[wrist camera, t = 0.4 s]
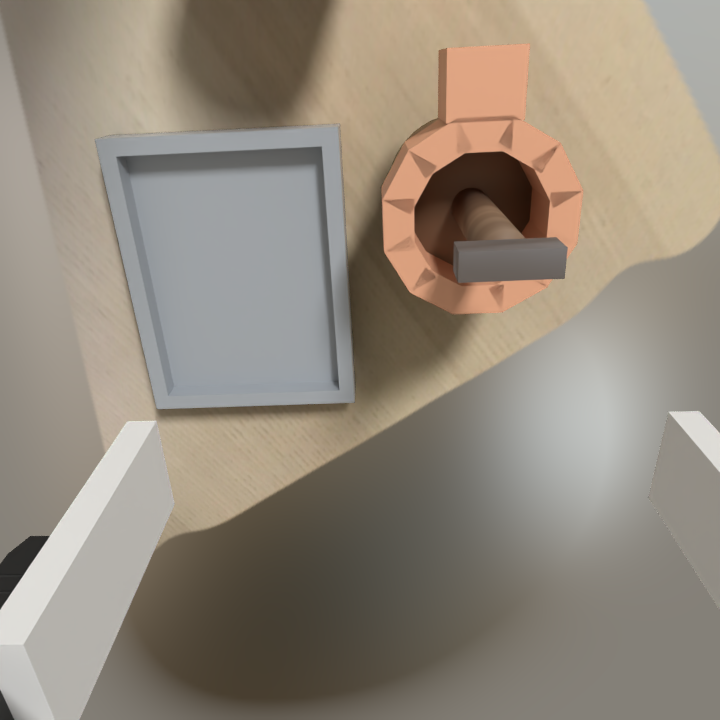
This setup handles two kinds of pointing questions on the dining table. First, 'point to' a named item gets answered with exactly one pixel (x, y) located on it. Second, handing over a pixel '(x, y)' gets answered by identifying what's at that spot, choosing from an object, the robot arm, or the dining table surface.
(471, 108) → the ring
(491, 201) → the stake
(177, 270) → the tray
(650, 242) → the dining table surface
